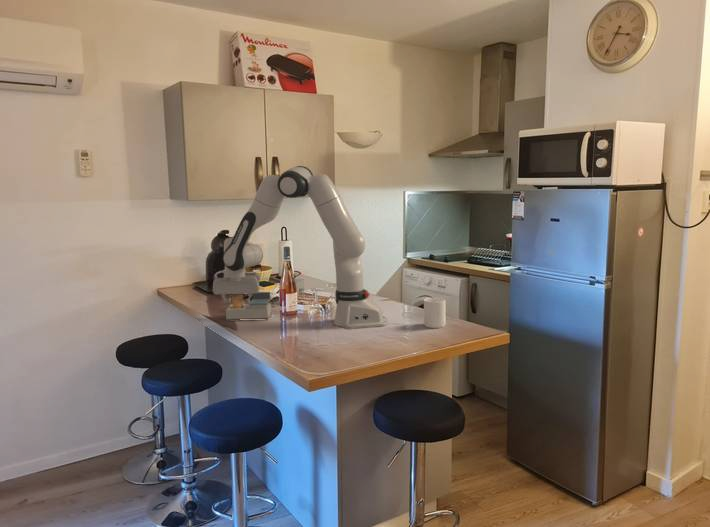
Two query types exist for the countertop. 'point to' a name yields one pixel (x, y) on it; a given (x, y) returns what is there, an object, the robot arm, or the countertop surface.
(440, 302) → the mug
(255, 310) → the housing
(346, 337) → the countertop surface
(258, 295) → the cover
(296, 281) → the ink box
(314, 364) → the countertop surface
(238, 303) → the tan upright cylinder
